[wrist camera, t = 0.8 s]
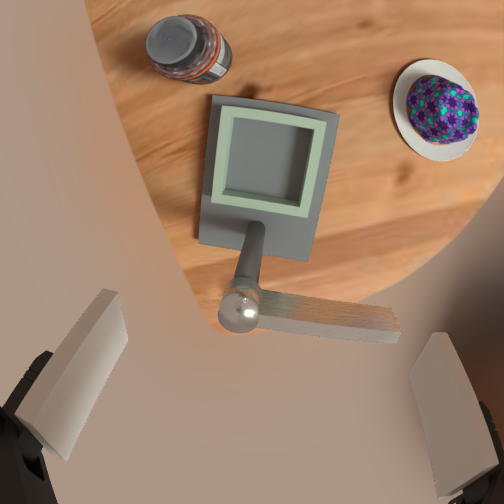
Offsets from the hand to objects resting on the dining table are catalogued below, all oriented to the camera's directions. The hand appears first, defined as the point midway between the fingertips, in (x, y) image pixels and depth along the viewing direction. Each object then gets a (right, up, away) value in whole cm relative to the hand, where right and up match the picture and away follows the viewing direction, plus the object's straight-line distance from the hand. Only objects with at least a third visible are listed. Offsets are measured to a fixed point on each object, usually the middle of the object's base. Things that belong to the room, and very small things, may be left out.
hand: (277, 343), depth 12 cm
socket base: (0, +11, +21) cm, 24 cm away
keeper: (+4, 0, +11) cm, 12 cm away
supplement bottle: (-6, +24, +16) cm, 29 cm away
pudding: (+20, +20, +15) cm, 32 cm away
